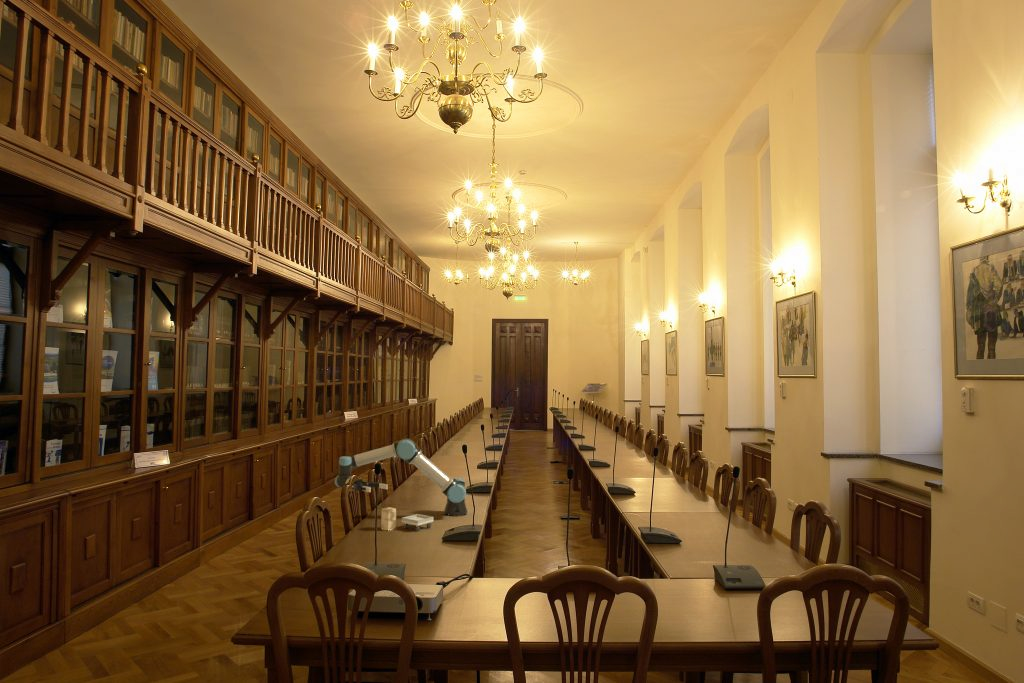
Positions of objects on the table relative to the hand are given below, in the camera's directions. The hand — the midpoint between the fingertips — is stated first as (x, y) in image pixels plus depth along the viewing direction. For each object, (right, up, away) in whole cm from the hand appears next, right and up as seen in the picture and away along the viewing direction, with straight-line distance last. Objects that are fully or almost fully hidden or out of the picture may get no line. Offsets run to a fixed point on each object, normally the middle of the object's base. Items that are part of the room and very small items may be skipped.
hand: (378, 488), depth 398 cm
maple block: (+7, -23, -6) cm, 25 cm away
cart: (+24, -23, -4) cm, 33 cm away
